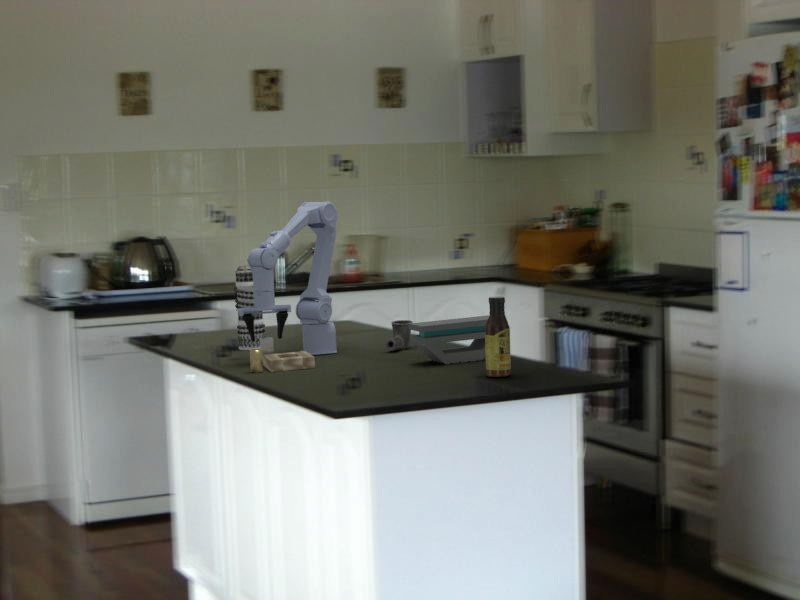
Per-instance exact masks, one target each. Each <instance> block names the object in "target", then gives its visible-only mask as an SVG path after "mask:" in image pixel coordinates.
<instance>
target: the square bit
mask: <svg viewBox="0 0 800 600" xmlns="http://www.w3.org/2000/svg"><path fill="white" fill-rule="evenodd" d="M274 347H275V346H274V337H271V336H270V337H269V336H268V337H267V336H266V338H260V349H262V363H263V355H265V354H275V349H274Z"/></svg>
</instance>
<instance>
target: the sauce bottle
mask: <svg viewBox="0 0 800 600" xmlns="http://www.w3.org/2000/svg"><path fill="white" fill-rule="evenodd" d="M505 304H506V297H505V296H489V297H488V305H489V315H490V316H489V318H488V320H487V322H486V325H485V332H486V334H485V355H486V357H485V370H486V375H487V377H489V378H501V377H503V378H504V377H508V376H510V374H511V368H512V365H511V358H512V357H511V327H510V325H509V322H508V319H507V316H506V314H505Z"/></svg>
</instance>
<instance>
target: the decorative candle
mask: <svg viewBox="0 0 800 600" xmlns="http://www.w3.org/2000/svg"><path fill="white" fill-rule="evenodd" d="M234 274H235V287H234V288H233V291H234V293H233V296H234V297H235V300H234V303H236V304H235V310H236V312H237V326H236V328H237V329H238V330H237V334H238V336H237V340H238V342H237V344H238V345H239V346H238V350H241V351H250V350H252V349H260V338H266V337H267V336H266V334H264V333H265V332H266V329H264V328H265V327H266V324H265V321H264V315H263V314H253V317H254V335H255V341H251V338H250V334H249V331H248V328H247V326H246V323H245V321H244V320H243V318H242V316H240V315H239V311H238V308H247V307H254V290H253V274H252V273H251V268H250V266H249V265H240V266H238V267H237V269H236V270H235V271H234ZM259 312H263V311H259Z"/></svg>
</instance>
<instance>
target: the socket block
mask: <svg viewBox="0 0 800 600" xmlns="http://www.w3.org/2000/svg"><path fill="white" fill-rule="evenodd" d="M300 351H301V350H300ZM300 351H291V352H279V353H274V354H265V355H263V367H264V368H266V369H267V370H268V371H269V372H271V373H273V372H285V371H293V370H294V371H297V370H305V369H306V370H307V369H316V361H315V358H316V357H315V355H311V354H309V353H307V352H306V351H301V352H300Z"/></svg>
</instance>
